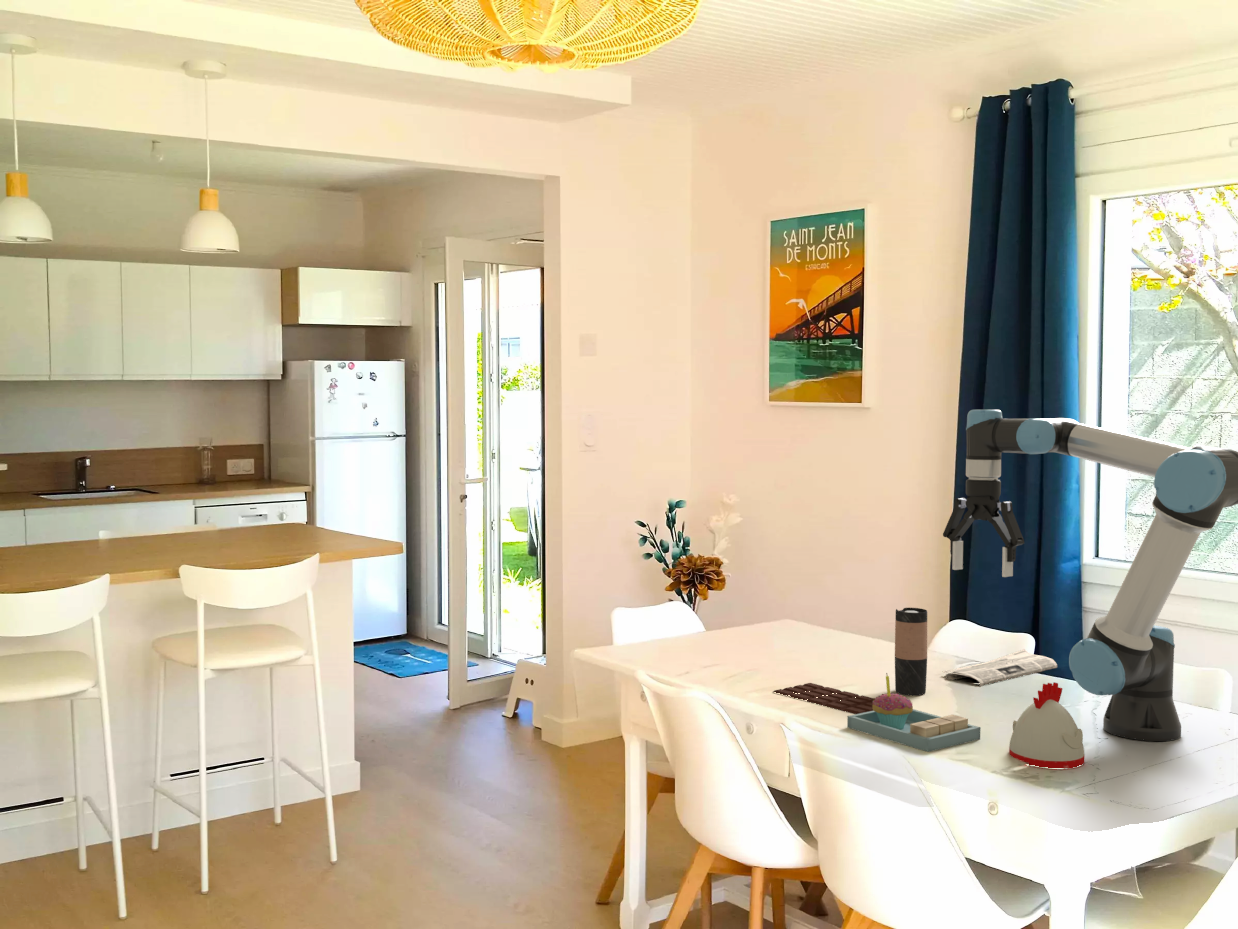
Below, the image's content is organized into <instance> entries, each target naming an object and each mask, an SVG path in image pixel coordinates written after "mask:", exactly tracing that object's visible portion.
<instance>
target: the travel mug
mask: <svg viewBox="0 0 1238 929" xmlns="http://www.w3.org/2000/svg"><path fill="white" fill-rule="evenodd" d="M894 626H895V627H894V631H895V632H894V682H895V683H894V684H895V685H894V687H895V689H894V690H895V693H896V694H897V693H898V694H900V695H902V696H910V695H912V696H913V695H918V696H923V694H924V695H925V694H926V689H927V671H928V610H927V609H924V608H920V607H919V608H918V607H903V609H901V610H900V609H899V610H898V609H897V608H896V609H895V624H894ZM912 696H911V697H912Z"/></svg>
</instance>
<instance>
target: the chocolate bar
mask: <svg viewBox="0 0 1238 929" xmlns="http://www.w3.org/2000/svg"><path fill="white" fill-rule="evenodd" d="M805 691H806V692H805ZM809 691H810V692H809ZM772 692H776V693H780V694H783V695H787V696H788V695H790V696H791V697H794V698H793V699H795V698H798V699H803V700H807V699H808V700H807V703H810V702H811V704H814V703H816V704H815V705H818V704H819V705H818V706H822V705H823V707H825V706H827V707H826V708H829V707H830V709H833V708H834V709H835V710H837V709H838V711H842V712H845V711H846V713H848V714H849V713H850V714H852V715H855V714H860V713H865V712H869V711H874V710H873V704H872V703H873V701H874V700H875V699H876V697H870V696H867V695H859V694H858V693H854V692H850V691H846V690H843V691H842V690H841V689H837V688H832V687H828V686H823V685H820V684H817V683H812V682H807V683H804V684H798V685H794V686H789V687H785V688H783V689H782V688H779V689H774V690H773V691H772ZM793 692H794V693H793ZM795 693H797V694H795ZM798 693H800V694H798ZM832 693H834V694H832ZM836 693H837V694H836ZM783 695H782V696H783ZM822 695H824V696H822ZM826 695H828V696H826ZM787 696H786V697H787ZM791 697H790V698H791ZM816 697H818V698H816ZM855 697H856V698H855ZM798 699H797V700H798ZM840 700H841V701H840Z"/></svg>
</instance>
